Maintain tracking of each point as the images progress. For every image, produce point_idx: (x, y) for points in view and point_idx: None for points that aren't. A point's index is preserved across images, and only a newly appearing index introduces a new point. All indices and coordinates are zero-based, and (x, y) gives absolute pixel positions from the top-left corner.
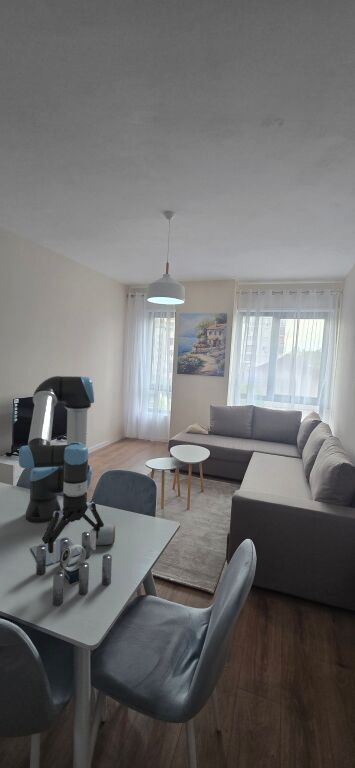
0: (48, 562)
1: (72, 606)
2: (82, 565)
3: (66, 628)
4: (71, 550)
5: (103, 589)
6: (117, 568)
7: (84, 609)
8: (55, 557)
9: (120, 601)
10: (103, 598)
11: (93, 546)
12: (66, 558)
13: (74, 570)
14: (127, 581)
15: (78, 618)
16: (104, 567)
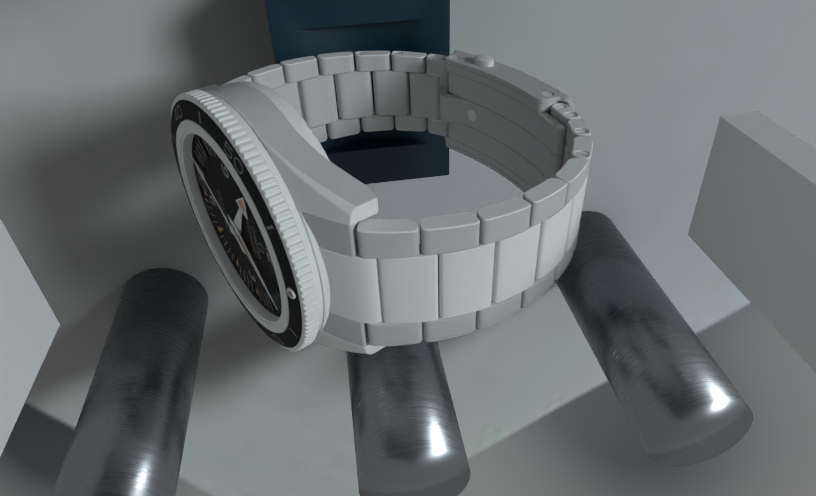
0: None
1: (267, 356)
2: (399, 479)
3: (205, 466)
4: (337, 326)
5: None
6: (771, 116)
7: (335, 395)
8: (18, 401)
9: (549, 404)
10: (478, 359)
11: (723, 267)
12: (246, 269)
13: (367, 123)
14: (702, 284)
15: (283, 434)
16: (610, 381)
